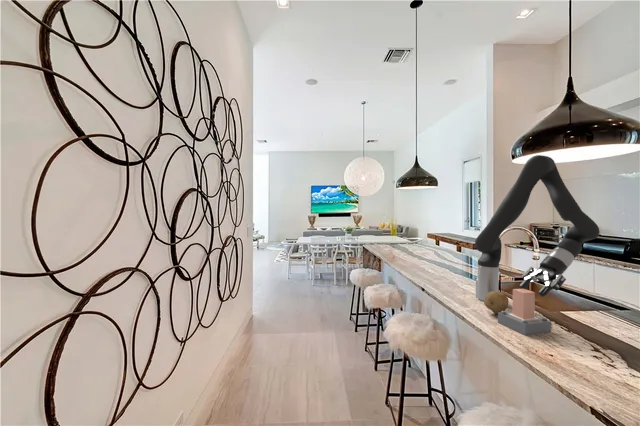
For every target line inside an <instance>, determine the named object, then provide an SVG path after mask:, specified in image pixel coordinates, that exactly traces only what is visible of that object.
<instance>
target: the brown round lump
mask: <svg viewBox="0 0 640 426" xmlns="http://www.w3.org/2000/svg"><path fill="white" fill-rule="evenodd" d="M509 303H510V301H509V298H508V296H506V294H505V293H504V292H502V291H499V290H498V291H492V292H490V293H488V294H487V295H486V297H485V299H484V301H483V305H484V306H485V307H486V308H487V309H488V310H490V311H491V312H493V313H494V314H496V315H498V313H499V312H501V311H506V310H507V308H508V306H509Z"/></svg>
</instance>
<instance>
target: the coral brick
mask: <svg viewBox="0 0 640 426" xmlns="http://www.w3.org/2000/svg"><path fill="white" fill-rule="evenodd" d="M511 304H512V306H511V307H512V308H511V311H512V314H513V315H515V316H518V317H520V318H522V319H530V318H534V315H535V311H536V310H535V309H536V307H535V306H536V305H535V304H536V292H535V291H532V290H528V289H527V288H526V289H521V288H513V289H512V303H511Z"/></svg>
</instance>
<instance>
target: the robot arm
mask: <svg viewBox="0 0 640 426" xmlns="http://www.w3.org/2000/svg"><path fill="white" fill-rule="evenodd" d="M539 181H541V182H542V183H543V185H544V187H545V188H546V189H547V192H548V194H549V197H550V200H551V203H552V205H553V206H554V209H555V210H556V211H557V213H558V215H559V216H560V218H561V219H562V220H563V221H565V222H570V223H572V226H571V227H569V228H568V230H567V231H566V232H565V233H564V236H563V237H562V240H561V241H560V242H559V243H558V244H557V245H556V246H555V247H554V248H553V249H552V250H551V251H550V252H549V253H548V255H546V257H545V258H544V259H543V260H542V261H541V262H540V263H539V267H538V268H534V267H533V266H530V267H529V268H528V269H526V271H525V272H524V273H523V274H522V275H521V278H522V279H523V280H522V282H521V283H520V284H519V289H526V290H527V288H528V286H529V285H530V284H532V283H533V282H535V283H536V282H542V283H544V284H545V285H543V286H542V287H541V289H539V291H538V295H539V296H540V297H545V296H546V295H548V293H549V292H550V291H553V290H555V291H559V290H560V288H561V287H562V286H563V284H564V283H565V281H566V280H567V279H566V277H565V276H564V275H563V274H564V273H565V272H566V271H567V270H568V268H569V267H570V266H571V265H572V263H573V262H574V260H575V259H576V258H577V257H578V256H579V254H581V252H582V250H583V247H582V245H583V244H584V243H585V242H589V241H592V240H595V239H597V238H598V237H599V236H600V234H601V233H600V227H599V226H598V224H597V223H596V222H595V221H594V220H593V219H592V218H591V217H589V215H588V214H586V213H585V212H584V211H582V209H581V207H580V206H579V204H578V202H577V201H576V200H575V198H574V197H573V195H572V193H570V190H569V189H568V188H567V186H566V184H565V182H564V181H563V178H562V177H561V174H560V172H559V170H558V168H557V165H556V163H555V160H554V159H553V158H552V157H550V156H547V155H543V154H542V155H541V154H540V155H539V154H537V155H534V156H531V157H530V158H529V159H528V160H527V161H526V162H525V164H524V166H523V168H522V170H521V171H520V173H519V175H518V177H517V178H516V181H515V183H514V184H513V185H512V187H511V188H510V189H509V191H508V192H507V194H505V195H506V196H505V197H504V198H503V199H502V200H501V203H500V204H499V206H498V207H497V209H496V210H495V212H494V214H493V216H492V217H491V218H490V220H489V222H488V224H486V226H485V227H484V228H483V230H482V231H481V232H480V233H479V234H478V235H477V237H475V242H474V246H475V248H476V250H477V251H478V252H479V253H481V255H480V256H479V258H478V259H477V278H476V279H475V298H477V299H478V300H480V301H482V302H484V299H485V297H486V295H487V294H488V293H490V292H492V291H498V292H499V285H500V284H499V283H500V282H499V280H500V279H499V278H500V277H499V276H500V274H499V271H500V267H499V266H500V262H501V259H502V246H503V245H502V240H501V238H500V235H501V234H502V233H503V232H504V231H505V230H506V229H507V228H508V227H510V226H511V225H512V224H514V223H515V221H516V220H517V219H518V218H519V217H520V216H521V215H522V213H523V211H524V210H525V208H526V207H527V205H528V203H529V200H530V195H532V192H533V190H534V188H535V187H536V185H537V183H539Z"/></svg>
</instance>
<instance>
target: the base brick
mask: <svg viewBox="0 0 640 426" xmlns="http://www.w3.org/2000/svg"><path fill="white" fill-rule="evenodd" d="M497 323H498V324H500V325H503V326H504V327H507V328H508V329H511V330H513V331H515V332H518V333H519V334H521V335H524V336H529V335H538V334H544V333H545V334H546V333H547V334H548V333H551V332H552V321H551V320H548V318H547V317H540V316H538V315H535V314H534V318H530V319H522V318H520V317H518V316H515V315H513V314H512V310H511V311H506V310H505V311H501V312H499V313H498V314H497Z"/></svg>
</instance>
